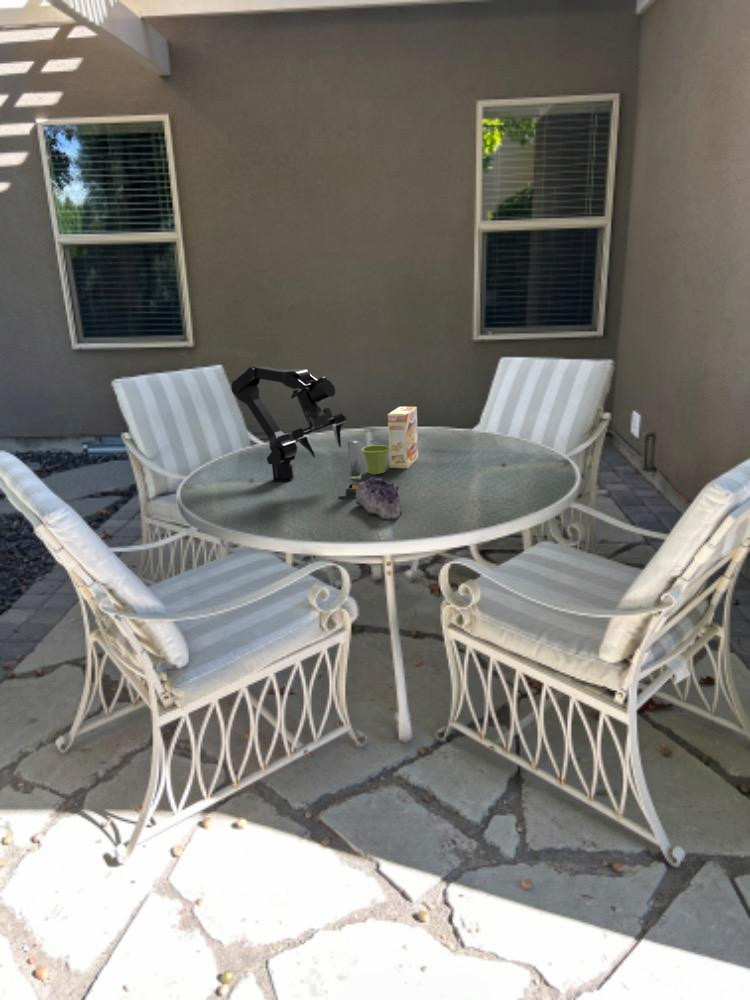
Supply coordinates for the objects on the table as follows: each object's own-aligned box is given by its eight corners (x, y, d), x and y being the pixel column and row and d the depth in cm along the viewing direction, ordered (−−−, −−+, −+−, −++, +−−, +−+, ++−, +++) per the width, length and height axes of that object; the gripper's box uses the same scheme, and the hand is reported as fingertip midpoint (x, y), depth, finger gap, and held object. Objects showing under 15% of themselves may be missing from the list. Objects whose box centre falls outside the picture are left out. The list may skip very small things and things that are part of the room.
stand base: (338, 498, 216) (337, 488, 215) (343, 489, 226) (342, 479, 224) (370, 498, 215) (369, 487, 214) (373, 488, 224) (373, 478, 223)
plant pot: (387, 476, 237) (386, 451, 234) (360, 476, 239) (359, 451, 236) (392, 468, 246) (391, 445, 243) (366, 468, 248) (365, 445, 245)
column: (349, 480, 217) (346, 443, 214) (350, 477, 221) (348, 440, 217) (360, 480, 217) (358, 443, 213) (361, 477, 220) (359, 440, 217)
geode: (417, 516, 197) (412, 484, 193) (380, 528, 193) (374, 496, 190) (387, 495, 215) (382, 465, 211) (353, 506, 211) (347, 476, 207)
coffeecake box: (408, 468, 245) (406, 414, 239) (388, 468, 247) (386, 414, 241) (419, 458, 258) (417, 406, 252) (401, 457, 261) (398, 406, 255)
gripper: (286, 413, 214) (305, 460, 216) (341, 393, 219) (359, 439, 220) (281, 417, 225) (299, 462, 226) (334, 399, 230) (350, 443, 231)
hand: (327, 452), depth 226 cm, fingers open, 9 cm apart
